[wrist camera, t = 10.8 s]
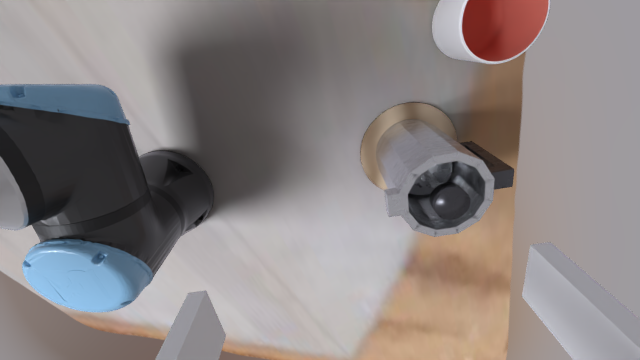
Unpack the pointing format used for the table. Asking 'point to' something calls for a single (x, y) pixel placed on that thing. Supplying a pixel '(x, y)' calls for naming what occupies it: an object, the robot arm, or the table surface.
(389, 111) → the trivet
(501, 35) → the cup
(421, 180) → the plunger
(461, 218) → the carafe
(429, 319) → the table surface
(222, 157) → the table surface
